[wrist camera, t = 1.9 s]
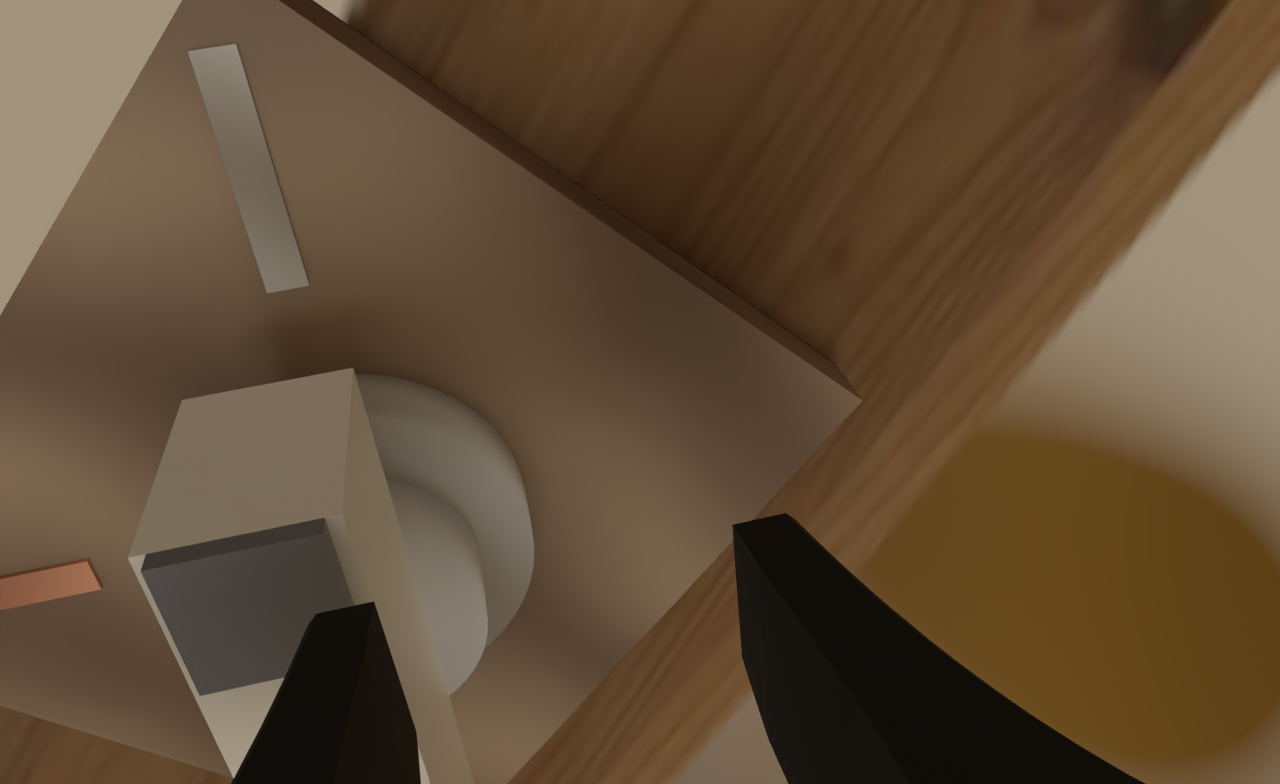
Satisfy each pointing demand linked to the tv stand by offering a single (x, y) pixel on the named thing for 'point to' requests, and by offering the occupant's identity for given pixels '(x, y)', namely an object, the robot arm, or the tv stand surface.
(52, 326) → the base
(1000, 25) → the tv stand surface
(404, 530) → the lock handle
